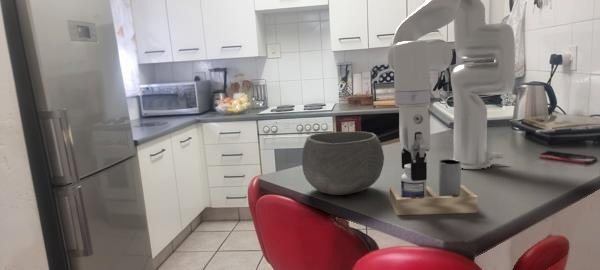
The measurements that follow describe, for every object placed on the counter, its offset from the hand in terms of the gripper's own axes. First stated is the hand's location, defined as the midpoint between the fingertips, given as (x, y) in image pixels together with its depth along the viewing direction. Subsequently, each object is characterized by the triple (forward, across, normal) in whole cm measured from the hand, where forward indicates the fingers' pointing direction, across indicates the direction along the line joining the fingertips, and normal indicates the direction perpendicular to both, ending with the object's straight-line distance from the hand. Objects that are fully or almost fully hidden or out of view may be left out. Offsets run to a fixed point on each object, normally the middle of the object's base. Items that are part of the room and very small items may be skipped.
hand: (413, 173), depth 90 cm
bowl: (+8, +12, +15) cm, 21 cm away
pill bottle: (+8, -1, 0) cm, 8 cm away
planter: (+8, -1, -8) cm, 11 cm away
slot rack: (+7, -1, -4) cm, 8 cm away
